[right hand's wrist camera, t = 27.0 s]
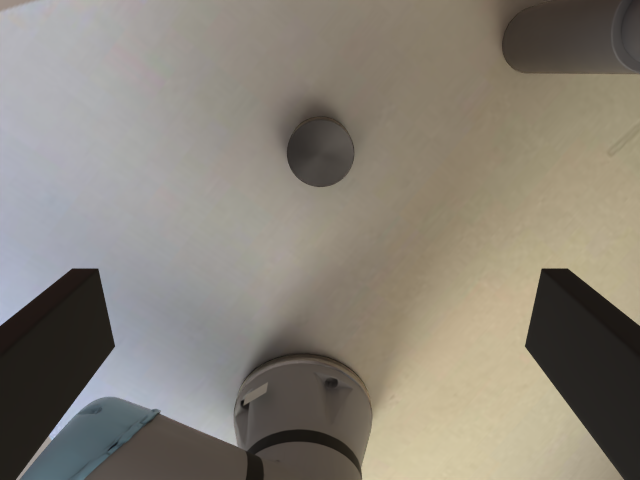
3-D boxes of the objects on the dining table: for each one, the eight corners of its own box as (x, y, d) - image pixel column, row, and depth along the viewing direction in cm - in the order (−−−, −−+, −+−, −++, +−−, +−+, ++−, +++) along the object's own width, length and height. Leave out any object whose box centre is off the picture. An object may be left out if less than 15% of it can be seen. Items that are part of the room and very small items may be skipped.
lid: (364, 157, 38) (366, 163, 35) (312, 191, 39) (311, 199, 37) (329, 103, 36) (330, 105, 34) (276, 140, 37) (273, 144, 35)
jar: (510, 2, 33) (664, -53, 18) (572, 8, 33) (774, -42, 18) (495, 70, 35) (625, 69, 20) (554, 75, 35) (725, 78, 20)
